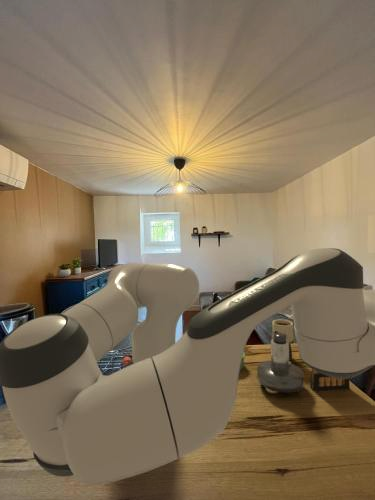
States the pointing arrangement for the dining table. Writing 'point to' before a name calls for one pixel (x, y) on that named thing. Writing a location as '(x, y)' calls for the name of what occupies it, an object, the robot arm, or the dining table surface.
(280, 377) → the grey lid
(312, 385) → the ammunition clip
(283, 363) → the clear bottle
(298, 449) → the dining table surface
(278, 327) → the character mug
